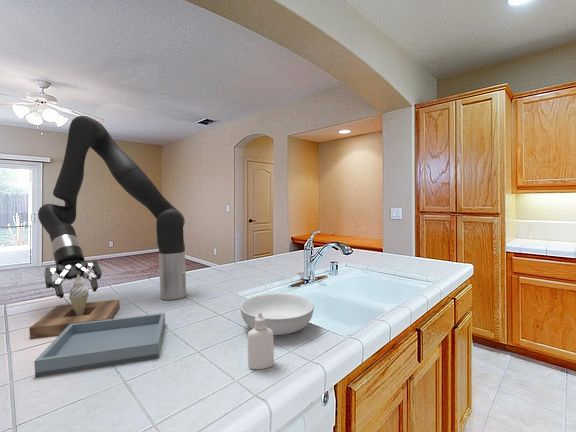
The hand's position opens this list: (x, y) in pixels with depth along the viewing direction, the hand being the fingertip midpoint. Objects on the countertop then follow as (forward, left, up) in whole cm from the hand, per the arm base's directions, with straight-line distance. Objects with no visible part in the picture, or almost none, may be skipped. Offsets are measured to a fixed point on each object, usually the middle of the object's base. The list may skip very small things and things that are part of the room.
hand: (79, 293), depth 92 cm
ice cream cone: (0, 0, -9) cm, 9 cm away
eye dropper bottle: (-47, +42, -9) cm, 63 cm away
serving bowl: (-56, +24, -9) cm, 61 cm away
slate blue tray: (-13, +21, -9) cm, 26 cm away
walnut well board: (0, 0, -9) cm, 9 cm away
